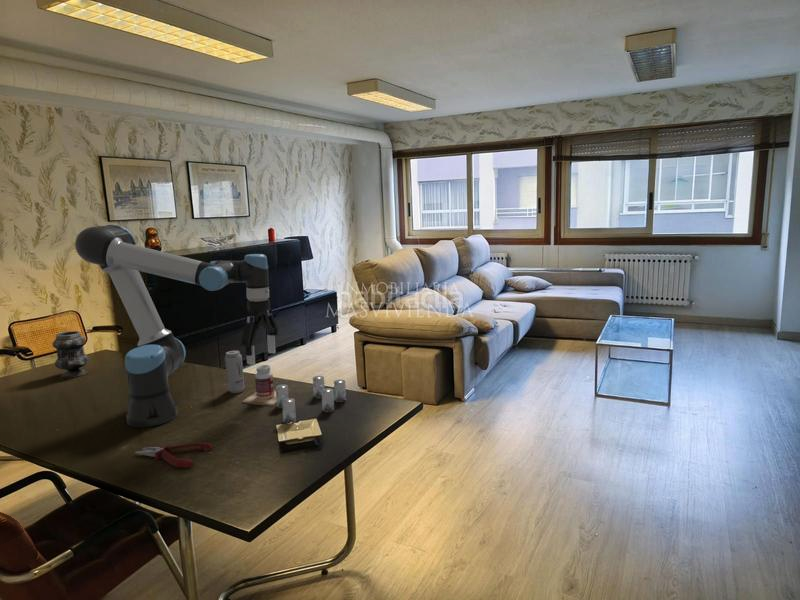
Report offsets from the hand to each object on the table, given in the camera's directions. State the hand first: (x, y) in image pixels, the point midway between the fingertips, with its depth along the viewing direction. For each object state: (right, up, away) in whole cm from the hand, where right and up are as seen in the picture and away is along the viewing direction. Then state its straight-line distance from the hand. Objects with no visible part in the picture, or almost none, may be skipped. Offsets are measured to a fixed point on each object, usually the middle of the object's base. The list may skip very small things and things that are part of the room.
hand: (261, 358), depth 182 cm
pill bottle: (+1, -14, +3) cm, 14 cm away
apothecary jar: (-89, -11, +35) cm, 96 cm away
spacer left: (+8, -16, -5) cm, 19 cm away
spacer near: (+14, -18, -17) cm, 29 cm away
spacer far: (+20, -14, +3) cm, 24 cm away
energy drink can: (-12, -14, +11) cm, 21 cm away
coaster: (+1, -15, +3) cm, 15 cm away
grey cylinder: (+28, -15, -1) cm, 31 cm away
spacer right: (+25, -16, -9) cm, 31 cm away
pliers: (-14, -23, -37) cm, 46 cm away
